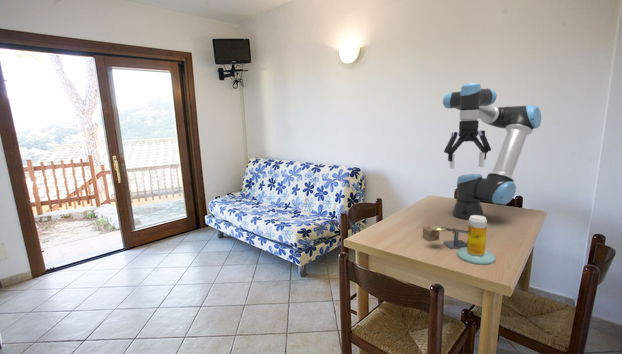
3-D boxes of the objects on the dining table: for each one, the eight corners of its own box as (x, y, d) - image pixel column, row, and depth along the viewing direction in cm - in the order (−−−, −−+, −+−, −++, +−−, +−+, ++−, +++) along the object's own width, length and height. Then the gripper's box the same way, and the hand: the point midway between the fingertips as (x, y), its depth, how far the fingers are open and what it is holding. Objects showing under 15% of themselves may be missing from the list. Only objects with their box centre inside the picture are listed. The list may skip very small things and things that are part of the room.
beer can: (463, 250, 118) (465, 215, 115) (478, 249, 119) (480, 214, 116) (473, 257, 112) (475, 220, 109) (488, 256, 113) (490, 219, 110)
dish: (481, 248, 122) (481, 245, 122) (502, 263, 109) (503, 260, 109) (451, 250, 122) (451, 247, 121) (468, 265, 109) (469, 262, 109)
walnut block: (431, 235, 138) (431, 225, 137) (439, 239, 133) (439, 229, 132) (422, 237, 137) (422, 227, 136) (429, 241, 132) (430, 231, 131)
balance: (475, 240, 130) (476, 221, 128) (485, 246, 124) (486, 226, 122) (427, 243, 129) (427, 224, 128) (434, 250, 123) (434, 230, 121)
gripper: (491, 118, 132) (488, 164, 136) (437, 121, 132) (435, 167, 136) (502, 118, 125) (498, 167, 129) (445, 121, 124) (443, 170, 128)
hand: (466, 167), depth 132 cm, fingers open, 13 cm apart
